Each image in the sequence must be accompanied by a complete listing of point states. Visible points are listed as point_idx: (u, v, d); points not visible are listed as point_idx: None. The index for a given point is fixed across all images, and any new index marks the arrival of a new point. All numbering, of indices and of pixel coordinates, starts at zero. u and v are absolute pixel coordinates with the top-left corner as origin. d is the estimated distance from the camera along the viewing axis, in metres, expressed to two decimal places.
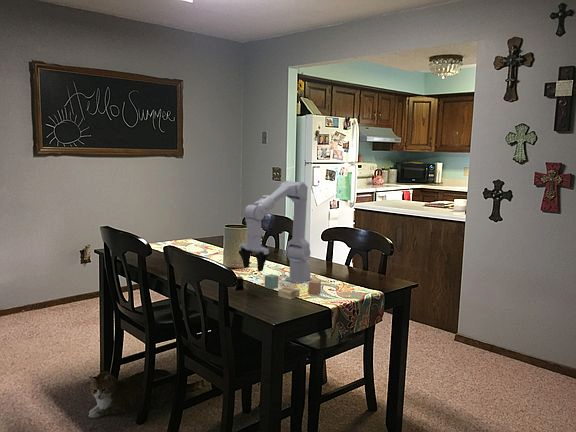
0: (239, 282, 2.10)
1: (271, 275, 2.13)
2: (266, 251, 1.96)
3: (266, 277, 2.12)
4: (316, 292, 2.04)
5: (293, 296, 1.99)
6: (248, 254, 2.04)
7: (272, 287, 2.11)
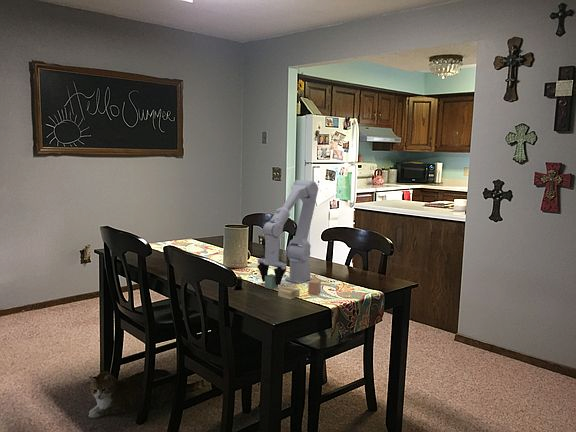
0: (238, 282, 2.10)
1: (271, 275, 2.13)
2: (284, 266, 2.07)
3: (266, 277, 2.12)
4: (316, 292, 2.04)
5: (293, 296, 1.99)
6: (266, 268, 2.15)
7: (272, 287, 2.11)
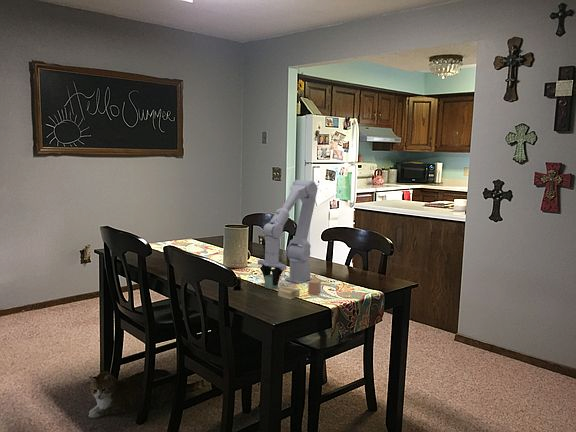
0: None
1: (271, 275, 2.13)
2: (284, 267, 2.07)
3: (266, 277, 2.12)
4: (316, 292, 2.04)
5: (293, 296, 1.99)
6: (269, 270, 2.14)
7: (272, 287, 2.11)
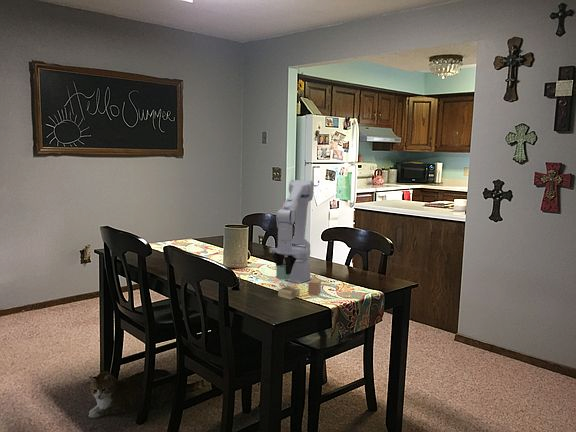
0: None
1: (283, 265, 2.03)
2: (298, 255, 1.97)
3: (278, 267, 2.02)
4: (316, 292, 2.04)
5: (293, 296, 1.99)
6: (281, 258, 2.05)
7: (284, 278, 2.01)
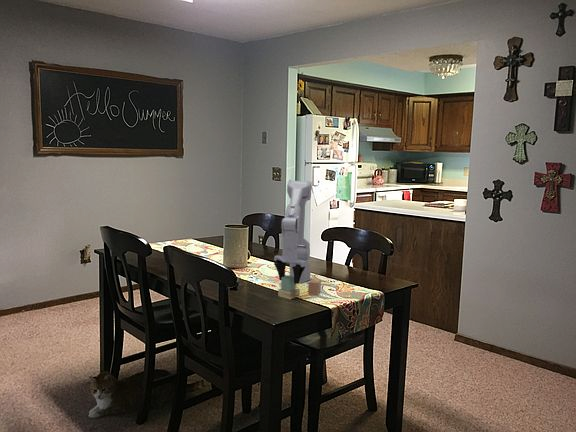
0: None
1: (288, 276, 2.01)
2: (303, 264, 1.95)
3: (283, 278, 2.00)
4: (316, 292, 2.04)
5: (293, 296, 1.99)
6: (283, 266, 2.03)
7: (289, 289, 1.99)
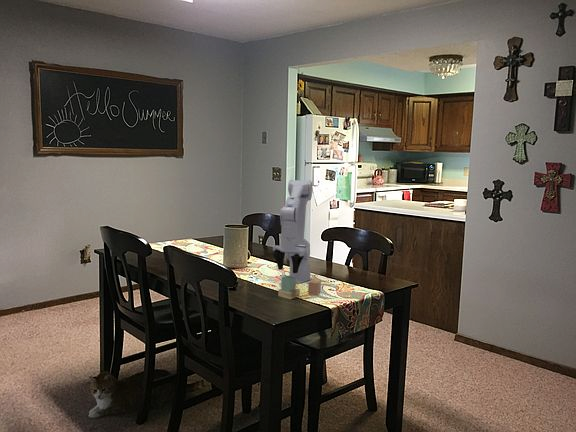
0: None
1: (288, 277, 2.01)
2: (302, 253, 1.95)
3: (283, 279, 2.00)
4: (316, 292, 2.04)
5: (293, 296, 1.99)
6: (282, 256, 2.04)
7: (290, 289, 1.99)
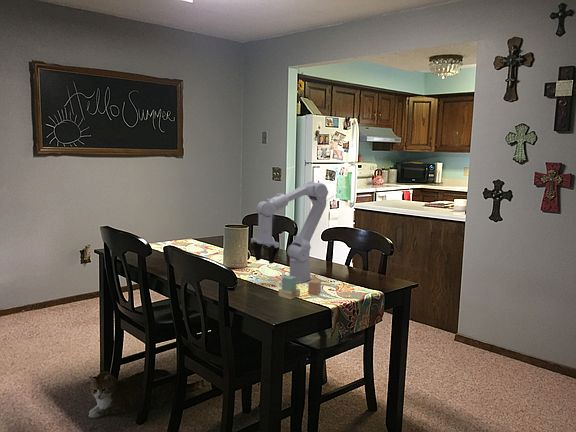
0: None
1: (289, 276, 2.01)
2: (277, 244, 2.09)
3: (284, 279, 2.00)
4: (316, 292, 2.04)
5: (293, 296, 1.99)
6: (259, 248, 2.18)
7: (290, 289, 1.99)
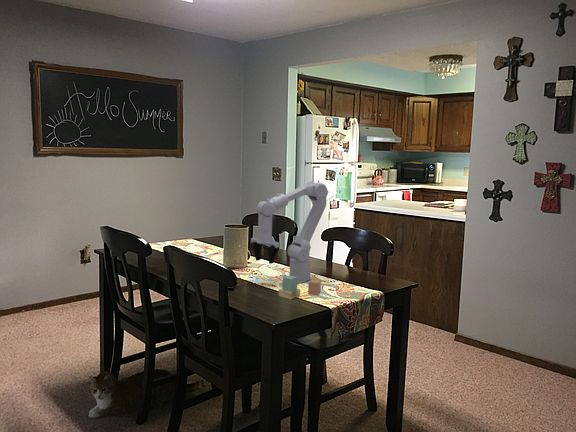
0: None
1: (289, 276, 2.01)
2: (277, 244, 2.09)
3: (284, 279, 2.00)
4: (316, 292, 2.04)
5: (294, 296, 1.99)
6: (259, 248, 2.18)
7: (291, 289, 1.99)
